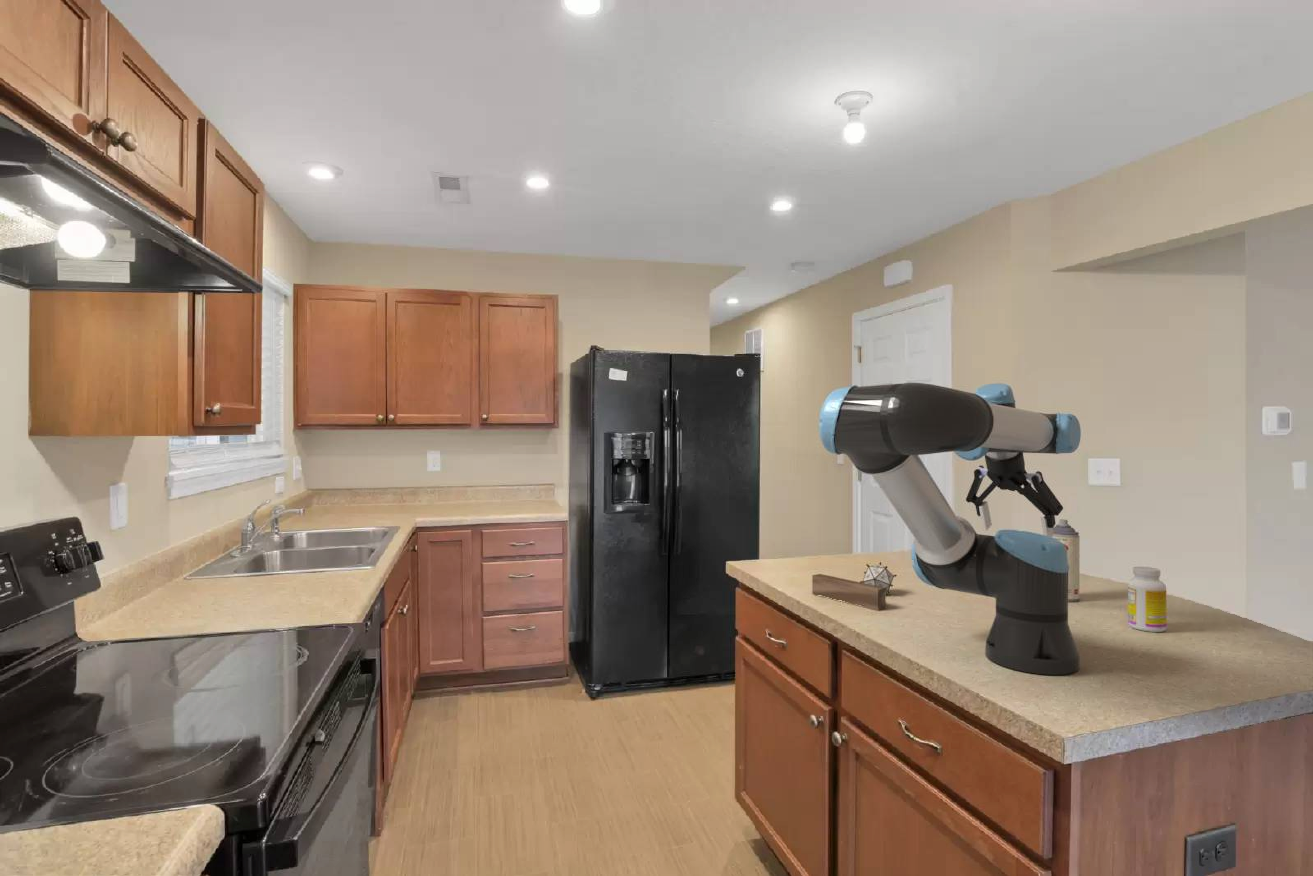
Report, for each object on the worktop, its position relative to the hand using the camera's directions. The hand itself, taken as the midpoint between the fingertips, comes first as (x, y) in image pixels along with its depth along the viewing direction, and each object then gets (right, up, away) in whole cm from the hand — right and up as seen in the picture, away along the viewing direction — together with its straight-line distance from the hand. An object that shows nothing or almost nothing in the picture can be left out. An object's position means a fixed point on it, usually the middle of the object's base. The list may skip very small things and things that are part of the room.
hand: (1017, 532), depth 153 cm
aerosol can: (+20, -19, +15) cm, 31 cm away
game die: (-25, -19, +21) cm, 38 cm away
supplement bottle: (+22, -19, -10) cm, 31 cm away
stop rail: (-35, -19, +13) cm, 42 cm away
